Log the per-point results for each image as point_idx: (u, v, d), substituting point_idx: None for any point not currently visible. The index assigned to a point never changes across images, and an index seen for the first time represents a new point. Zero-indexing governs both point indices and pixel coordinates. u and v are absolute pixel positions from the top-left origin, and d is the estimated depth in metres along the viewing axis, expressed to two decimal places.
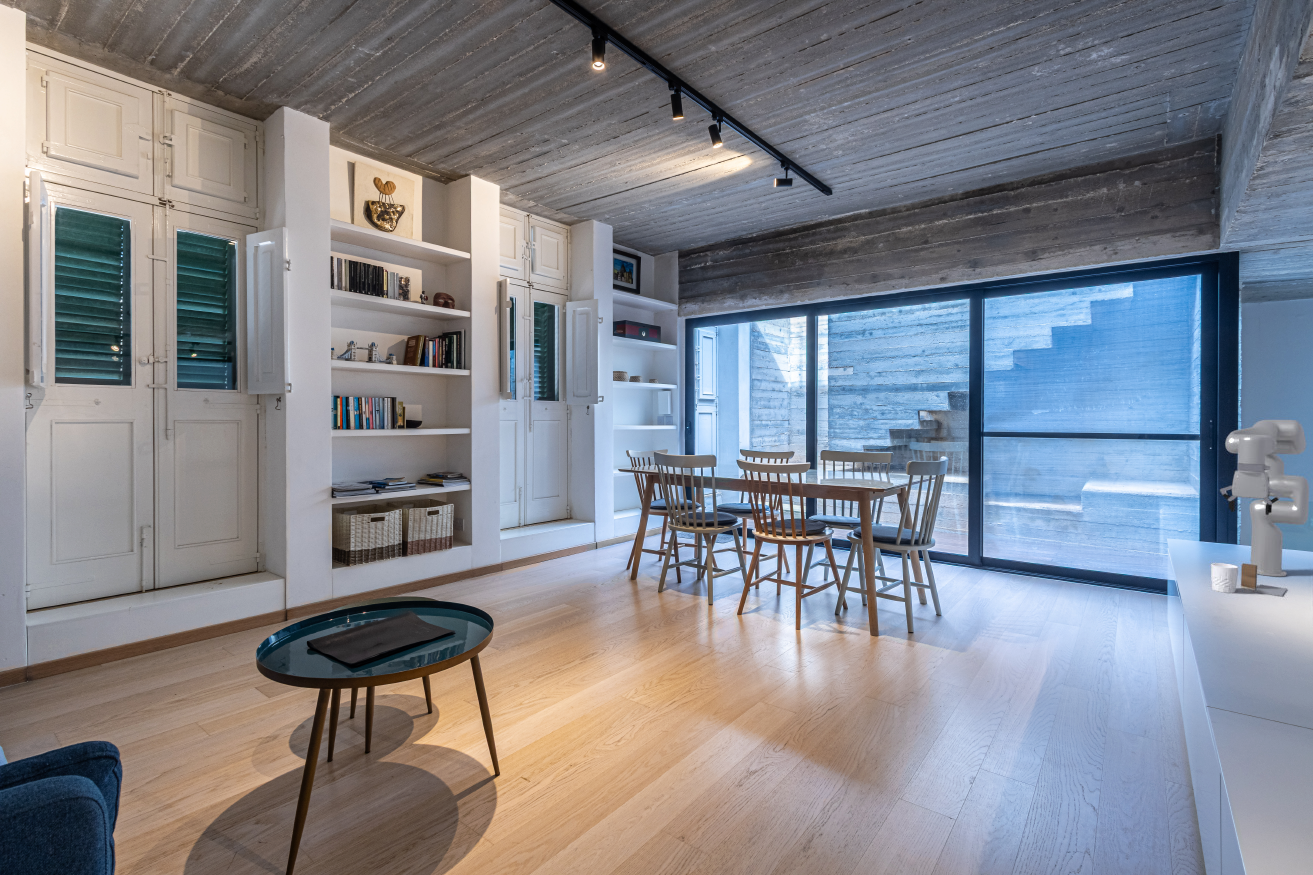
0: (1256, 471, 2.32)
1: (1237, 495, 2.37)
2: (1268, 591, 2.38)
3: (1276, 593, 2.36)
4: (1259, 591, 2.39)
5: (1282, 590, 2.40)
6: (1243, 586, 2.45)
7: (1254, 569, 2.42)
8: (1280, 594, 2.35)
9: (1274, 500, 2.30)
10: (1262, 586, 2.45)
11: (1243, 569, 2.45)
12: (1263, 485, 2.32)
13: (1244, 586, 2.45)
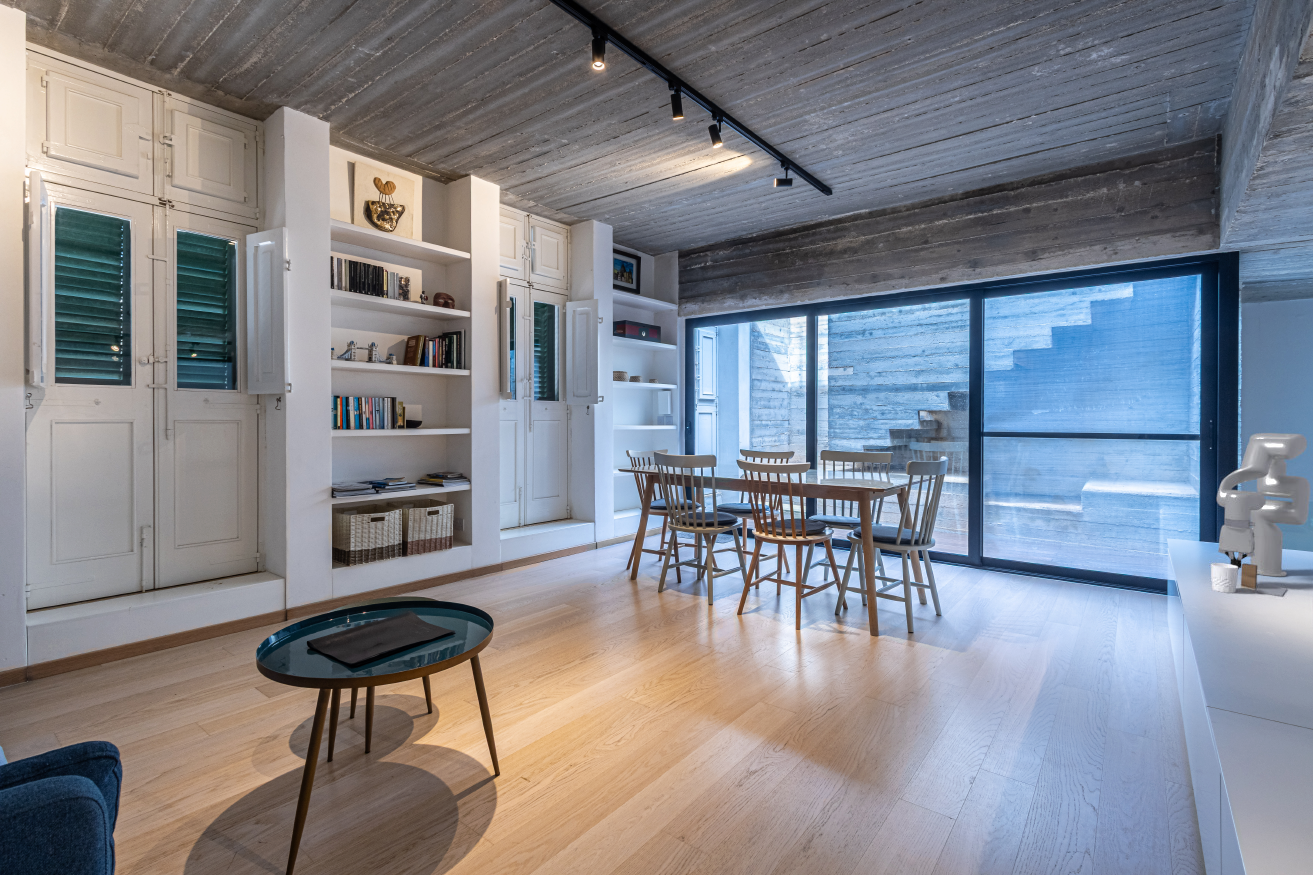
0: (1241, 527, 2.44)
1: (1224, 549, 2.49)
2: (1268, 591, 2.38)
3: (1276, 593, 2.36)
4: (1259, 591, 2.39)
5: (1282, 590, 2.40)
6: (1243, 586, 2.45)
7: (1254, 569, 2.42)
8: (1280, 594, 2.35)
9: (1243, 556, 2.46)
10: (1262, 586, 2.45)
11: (1243, 569, 2.45)
12: (1248, 540, 2.43)
13: (1244, 586, 2.45)
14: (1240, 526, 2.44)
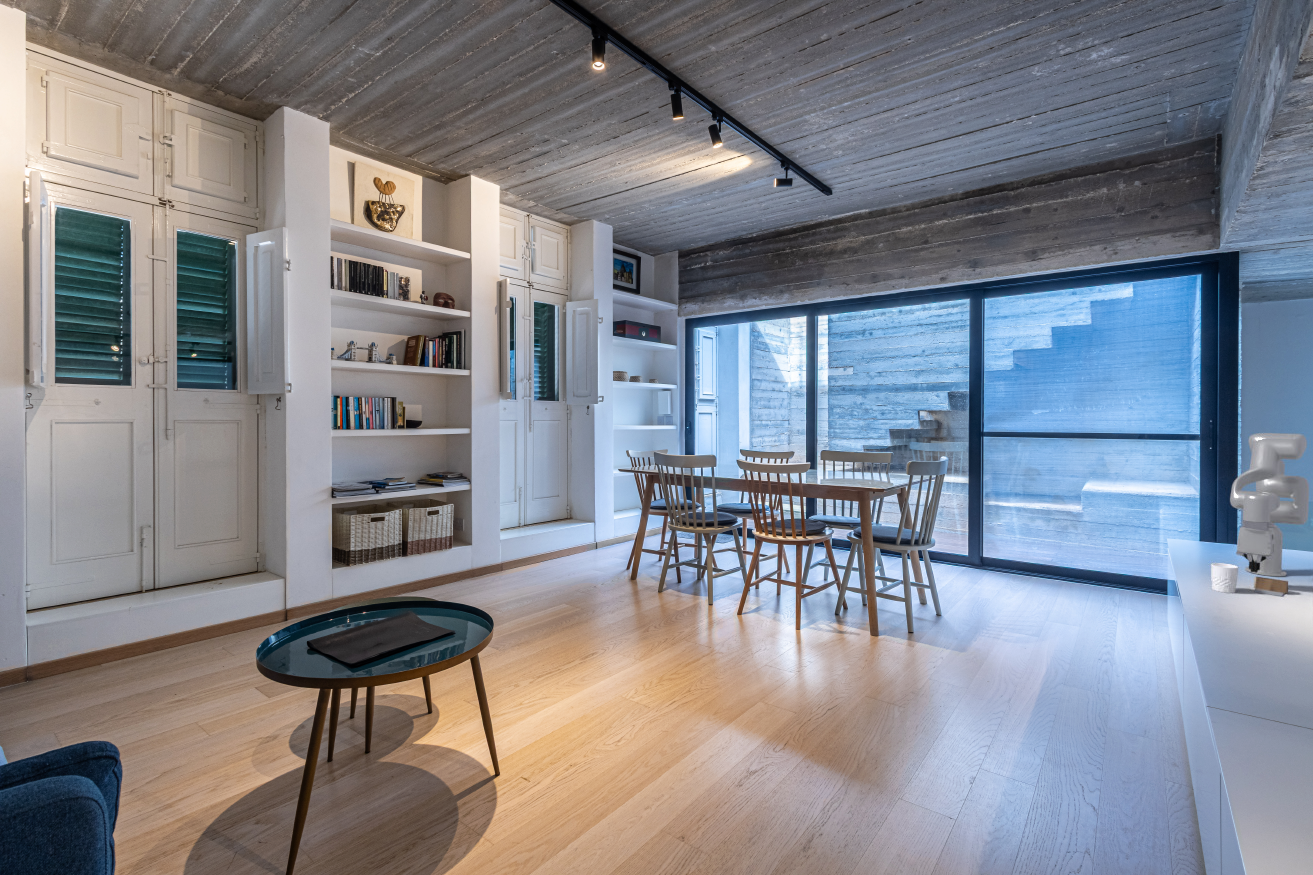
0: (1260, 529, 2.40)
1: (1242, 551, 2.45)
2: (1268, 591, 2.38)
3: (1276, 593, 2.36)
4: (1259, 591, 2.39)
5: None
6: (1256, 580, 2.42)
7: (1282, 591, 2.37)
8: (1280, 594, 2.35)
9: (1262, 559, 2.41)
10: None
11: (1280, 583, 2.37)
12: (1267, 543, 2.39)
13: (1256, 581, 2.42)
14: (1259, 528, 2.40)
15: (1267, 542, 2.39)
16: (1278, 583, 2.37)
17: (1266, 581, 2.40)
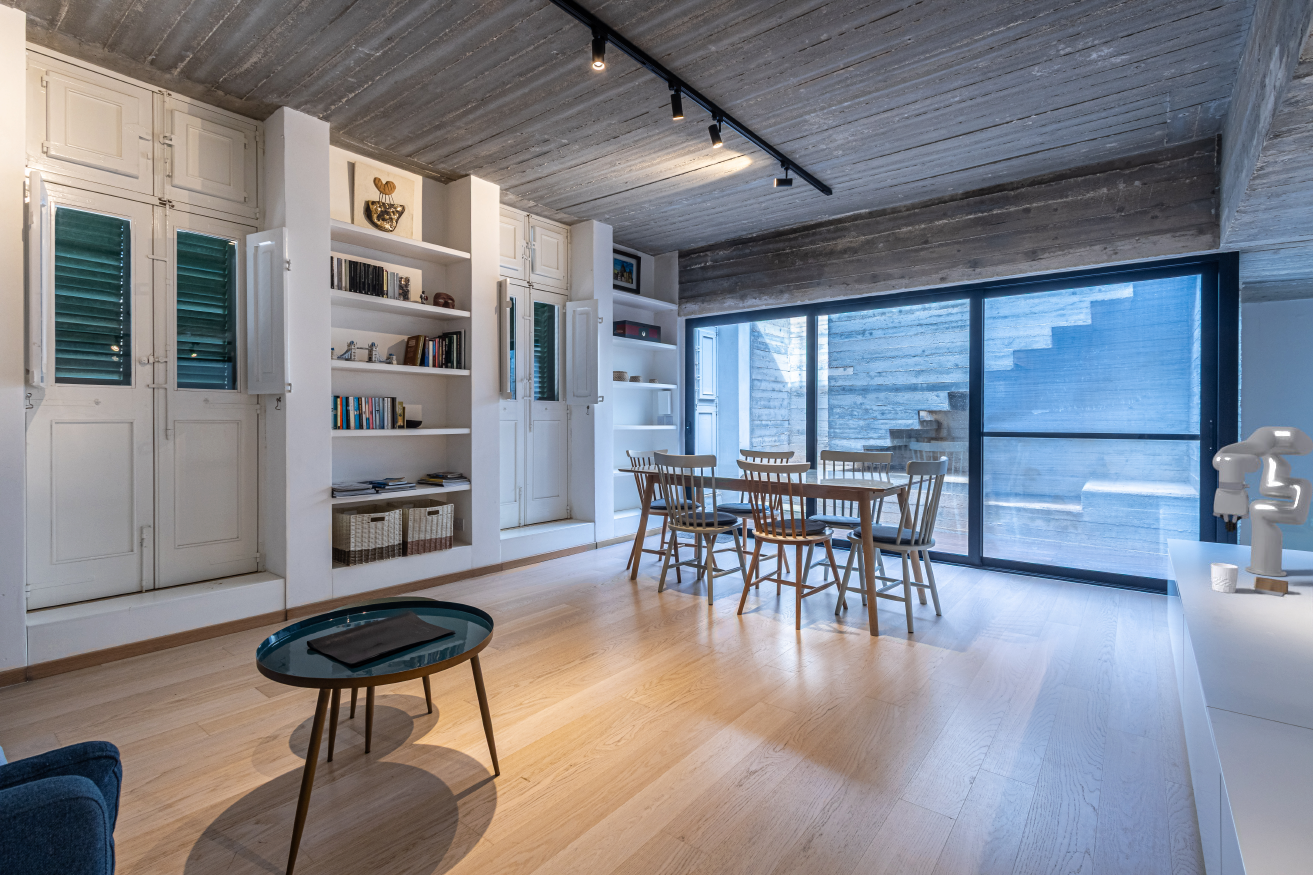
0: (1236, 489, 2.45)
1: (1218, 512, 2.50)
2: (1268, 591, 2.38)
3: (1276, 593, 2.36)
4: (1259, 591, 2.39)
5: None
6: (1256, 580, 2.42)
7: (1282, 591, 2.37)
8: (1280, 594, 2.35)
9: (1238, 518, 2.47)
10: None
11: (1280, 583, 2.37)
12: (1243, 503, 2.44)
13: (1256, 581, 2.42)
14: (1234, 488, 2.45)
15: (1242, 502, 2.44)
16: (1278, 583, 2.37)
17: (1266, 581, 2.40)
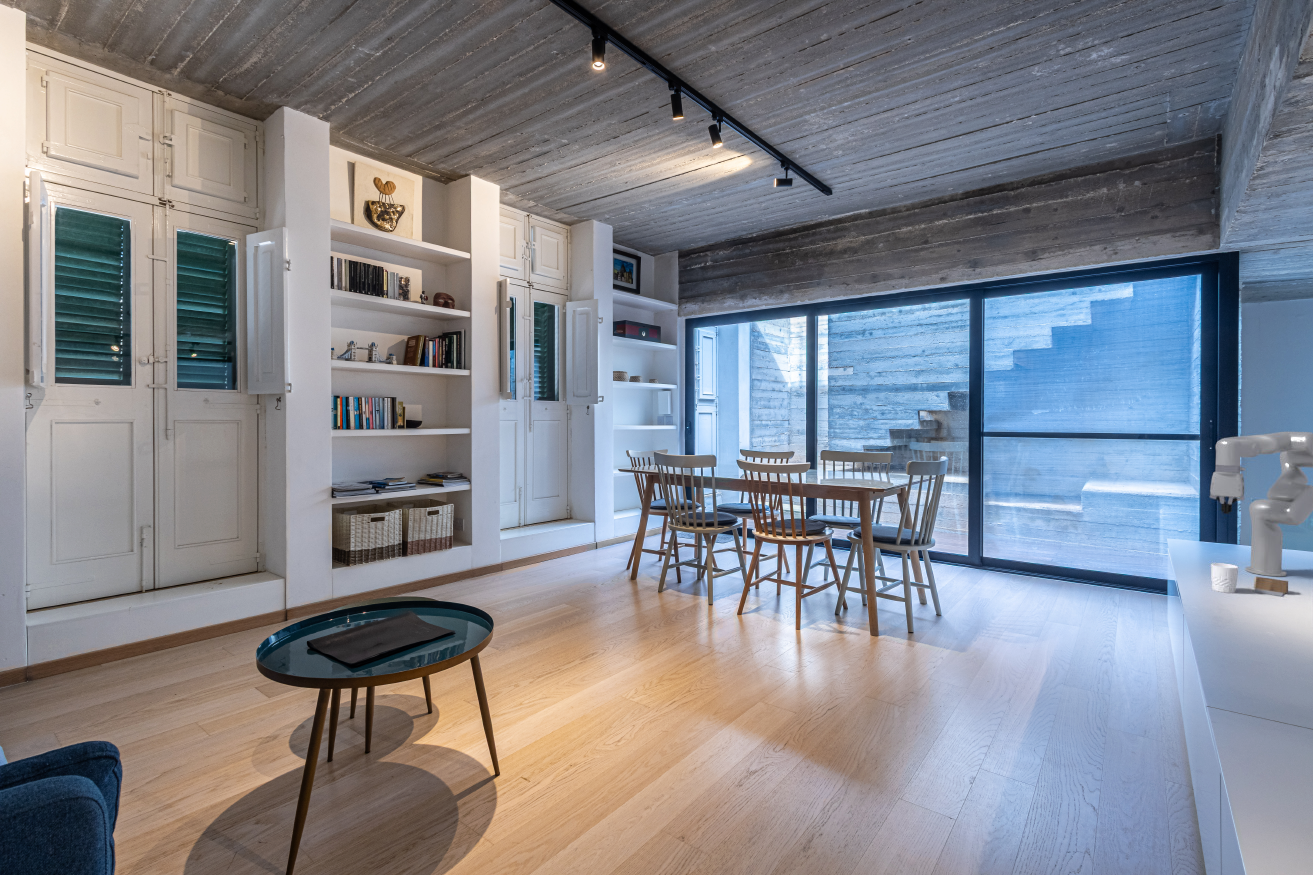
0: (1232, 472, 2.54)
1: (1215, 494, 2.60)
2: (1268, 591, 2.38)
3: (1276, 593, 2.36)
4: (1259, 591, 2.39)
5: None
6: (1256, 580, 2.42)
7: (1282, 591, 2.37)
8: (1280, 594, 2.35)
9: (1233, 500, 2.56)
10: None
11: (1280, 583, 2.37)
12: (1238, 485, 2.54)
13: (1256, 581, 2.42)
14: (1230, 471, 2.55)
15: (1238, 484, 2.54)
16: (1278, 583, 2.37)
17: (1266, 581, 2.40)
